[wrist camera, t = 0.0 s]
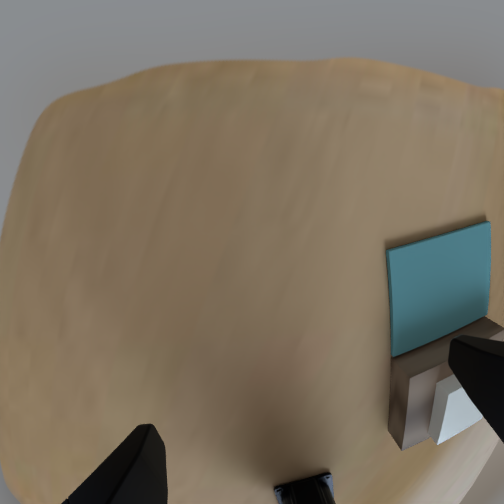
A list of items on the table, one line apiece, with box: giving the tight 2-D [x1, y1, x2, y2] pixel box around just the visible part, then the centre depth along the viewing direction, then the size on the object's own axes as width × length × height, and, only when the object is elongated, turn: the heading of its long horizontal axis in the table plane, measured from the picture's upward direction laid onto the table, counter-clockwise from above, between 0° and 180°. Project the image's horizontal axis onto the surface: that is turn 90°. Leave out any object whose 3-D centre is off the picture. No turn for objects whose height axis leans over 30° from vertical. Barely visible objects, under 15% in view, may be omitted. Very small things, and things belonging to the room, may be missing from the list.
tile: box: [428, 374, 483, 445], centre depth 22 cm, size 7×6×2 cm
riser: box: [388, 316, 504, 451], centre depth 25 cm, size 10×12×4 cm
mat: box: [386, 221, 491, 357], centre depth 24 cm, size 10×12×1 cm
